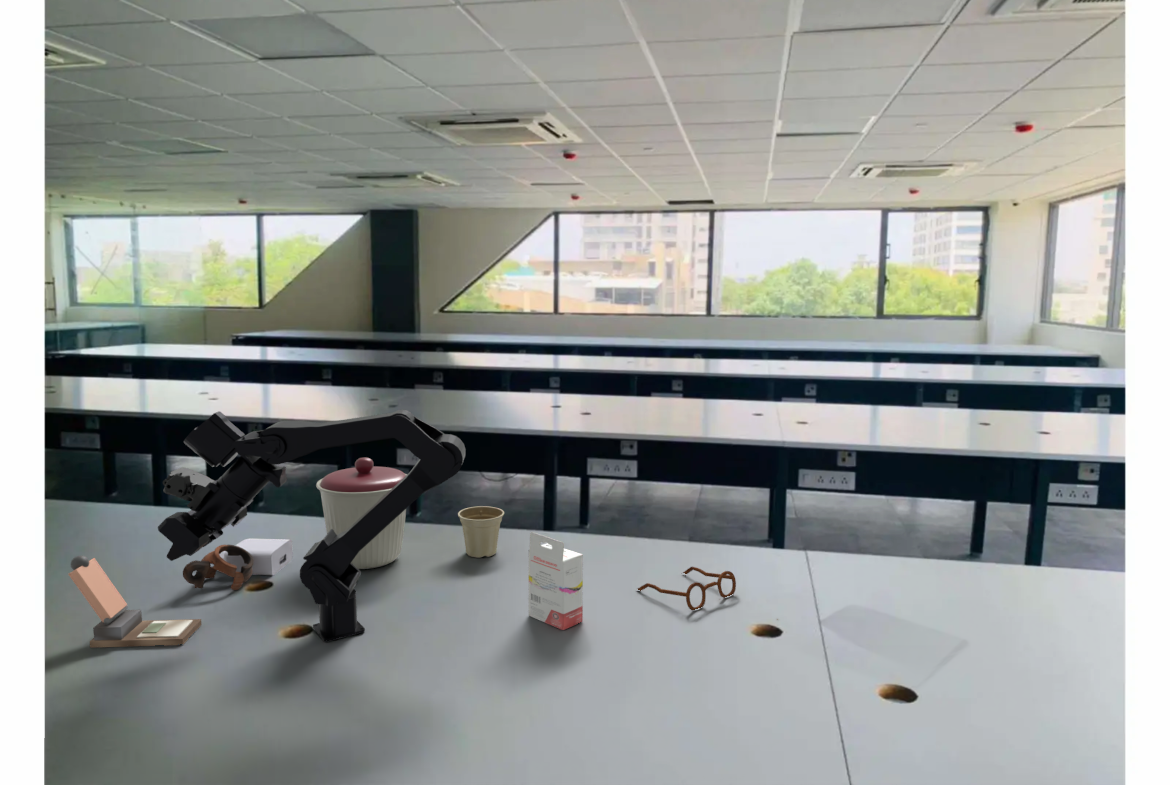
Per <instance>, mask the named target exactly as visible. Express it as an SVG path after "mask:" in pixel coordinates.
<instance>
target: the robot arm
mask: <svg viewBox="0 0 1170 785" xmlns="http://www.w3.org/2000/svg"><path fill="white" fill-rule="evenodd" d="M392 439H395V440H397V441H398V442H400V443H401V444H402V445H403V446H404V447H405V448H406V449H407V450H409V451H410V453H412V455H414V456H415V457H416V458H418V461H417V462H416V463H415V465H413V467H412V469H411V470H410V471H409V472H408V473H406V474H407V475H406V476H405V477H404V478H403V479H402V480H401V481H400V482H399V483H398V484H397V485H395V486H394V487H393V488H392V489H391V490H390V491H389V492H388V493H387V494H386V495H385V496H383V497H382V498H381V499H380V500H379V501H378V502H377V503H376V504H375V505H374V506H373V507H371V508H370V509H369V510H368V511H367V512H366V513H365V514H364V515H363V516H362V517H361V518H359V519H358V520H357V521H356V522H355V523H354V524H353V525H352V526H351V527H350V528H349V529H347V530H346V531H344V532H342V533H340V534H338V535H336V533H335V532H334V530H333V529H331V530H330V531H329V532H328V534H327V533H326V534H325V536H324V537H323V539H321V540H320V541H318V542H315V543H314V544H313V545H312V546H311V548H309V550H308V551H307V552H306V554H305V555H304V556H303V557H302V558H303V560H304V562H303V564H302V565H301V567H300V569H299V578H300V581H301V583H302V585H303V586H304V587H305V588H307V589H308V590H309V592H310V595H311V596H312V599H313V601H314V603H315V605H318V619H319V622H318V623H314V624H312V630H314V632H315V633H316V634H317V635H318V636H319V638H321V640H322V641H323V642H324V643H326V642H327V643H328V642H330V641H335V640H339V639H342V638H347V637H350V636H353V635H354V636H355V635H357V634H361V633H364V632H365V631H366V629H365V627H364V626H363V625H362V624H361V623H360V622H359V620H358V613H357V612H358V610H357V609H358V606H357V590H356V589H355V587H356V585H358V583H359V580H360V577H361V574H362V571H361V569H358V568H356V567H355V566H354V565H353V564H352V563H351V562H352V561H353V559H354V558H355V556H356V555H357V554H358V552H359V551H360V550H361V549H363V548H364V547H365V546H366V545H367V544H368V543H369V542H370V541H371V540H372V539H373V538H375V537H376V536H377V535H378V534H379V533H380V532H381V531H382V530H383V529H384V528H386V527H387V526H388V525H389V524H390V523H391V522H392V521H393V520H394V519H395V518H396V517H398V516H399V515H400V514H401V513H402V512H403V511H404V510H405V509H406V510H407V508H409V507H410V506H411V505H412V504H413V503H414V502H415V501H417V500H418V498H419V497H421V496H422V495H423V494H424V493H426V492H428V491H430V490H432V489H434V488H437V487H438V486H440V485H441V484H443V483H445V482H447V481H448V480H450V479H451V478H453V477H454V476H455V475H457V474H458V473H459V471H460V470H461V468H462V467H463V463H464V460H465V458H466V450H467V449H466V447H465V443H464V442H463V441H462V440H461V438H460V437H458V436H457V435H454V434H451V433H450V434H448V433H444V432H443V431H441V430H439V429H438V428H437V427H435V426H433V425H431V424H429V423H427V422H426V421H423V420H422V419H420V418H418V417H417V416H415V415H414V414H413V413H412V412H410V410H406V409H397V410H395V411H393V412H387V413H380V414H379V413H378V414H373V415H367V416H365V415H364V416H359V417H353V418H347V419H340V420H333V421H326V422H314V421H308V420H280V421H278V422H275V423H273V424H272V425H270V426H268V427H267V428H265V429H262V430H256V431H255V430H254V431H251V432H249V433H247V434H245V433H244V432H243V431H241V430H240V429H239V428H238V427H237V426H235V425H234V424H233V423H232V422H231V421H230V420H229V418H228V417H227V416H226V415H225V414H224V413H223V412H222V411H217V412H214V413H213V414H211V415H210V417H209V418H207V419H206V420H205V421H203V422H202V423H201V424H200V425H199V426H197V427H195V428H194V429H192V431H191V432H189V434H188V435H187V436H186V437H185V438H184V440H183V443H184V444H185V446H187V447H188V448H189V449H191V450H192V451H193V452H194V453H195V454H197V456H199V457H200V458H201V459H202V460H204V461H205V462H206V463H207V464H208V465H210V466H211V467H212V468H213V467H215V468H217V467H218V466H219V465H220V466H221V467H222V468H223V467H224V468H225V467H226V466H227V465H228V464H230V463H231V462H232V461H233V460H234V459H235V458H236V457H237V456H238V455H239V458H237V460H236V461H235V462H234V463H232V465H231V466H230V467H229V468H228V469H227V470H226V471H225V472H224V473H223V474H222V475H221V476H220V477H219V478H217V479H216V480H214V479H212V478H210V477H209V476H207V475H204V474H202V473H200V472H198V471H195V470H193V469H190V468H188V467H187V468H186V467H179V468H176V469H174V470H172V471H170V473H169V474H168V476H167V477H166V478H165V479H164V480H163V481H162V485H163V486H164V488H163V493H165V494H166V495H169V496H174V497H177V498H180V499H182V500H185V501H187V502H188V503H187V505H186V506H187V507H188V509H190V510H189V511H177V512H175V513H172V515H169V516H167V517H166V518H165V519H164V520H162V522H161V523H160V524H159V525H158V526H157V530H158V532H159V534H161V535H162V536H164V537H165V538H166V539H167V540H168V541H170V543H172V545H171V546H170V548H169V550H168V552H167V555H166V559H168V560H169V561H170V562H173V561H175V560H177V559H179V558H182V557H184V556H190V557H191V556H193V555H194V554H196V553H198V552H199V551H200V550H201V549H202V548H205V547H206V546H208V545H209V544H211V543H212V542H213V541H214V540H216V539H218V538H220V537H221V536H223V535H224V531H223V529H225V528H227V527H228V526H229V525H230V526H232V527H233V528H234V527H236V526H237V525H238V524H240V523H241V522H242V521H243V520H244V519H245V518H246V517H247V516H248V508H247V507H248V506H249V505H250V504H251V503H253V502H254V498H255V497H256V495H258V494H259V493H260V492H261V490H263V489H264V488H265V487H266V485H268V483H269V482H270V483H271V484H272V485H273V486H275V487H276V488H280V487H282V486H283V485H284V484H285V483H287V481H288V479H287V474H286V472H287V466H285V465H284V466H279V465H281V464H285V463H287V462H291V461H294V460H296V459H299V458H300V459H301V458H303V457H304V456H308V455H309V454H312V453H315V452H318V451H321V450H325V449H332V448H339V447H345V446H352V445H353V446H354V445H358V444H364V443H365V444H366V443H371V442H379V441H385V440H392Z"/></svg>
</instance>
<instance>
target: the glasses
mask: <svg viewBox="0 0 1170 785" xmlns="http://www.w3.org/2000/svg"><path fill="white" fill-rule="evenodd" d="M693 571H695V572H698V573H700V574H702V575H703V576H705V577H709V578H717V581H712V582H710V583H709V582H708V583H707V584H705V585H703V583H701V582H697V581H696V582H693V583H691V584H690V585H689V586H688V587H687V590H686V592H684V591H683V592H682V591H679V590H678V591H677V590H673V589H672V590H671V589H665V588H660V587H659V586H657V585H655V584H652V583H649V582H648V583H645V584H643V585H641V586H639V587H637V589H638V590H640V592H641V590H642V591H643V590H645V589H648V588H650V589H654V590H655V591H657V592H659V593H660V594H666V595H672V596H678V597H679V596H680V597H685V600H686V605H687V607H688V609H689V610H691V611H693V610H695V609H698V608H701V607H702V608H703V607H704V605H705V604H706V596H707V595H706V594H707V593H706V591H707V590H708V589H710V588H712V587H714V586H715V587H716V586H717V590H718V593H719V595H720V597H721V598H723V599H726V598H725V597H727V596H730V595H732V594H733V595H734V594H735V592H736V590H737V581H736V577H735V575H734V573H733V572H732V571H731V570H725V571H722V572H721V573H716V572H715V573H713V572H706V571H704V570H703V569H701V568H699V567H695V566H690V567H689V568H687V569H686V570H685V571H683V572H682V573H685V574H687V575H688V574H690V573H691V572H693ZM723 579H725V580H731V581H732V583H731V584H732V587H731V590H730V592H729V593H728V594H725V593H724V592H723V590H722V589H723V588H722V580H723ZM695 587H698V588H700V591H701V601H700V604H699V605H697V606H694V605H693V604H692V603H691V598H690V597H691V596H690V595H691V592H692V590H693V588H695ZM733 595H732V596H733ZM702 608H701V609H702Z"/></svg>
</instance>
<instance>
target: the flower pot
mask: <svg viewBox="0 0 1170 785" xmlns="http://www.w3.org/2000/svg"><path fill="white" fill-rule="evenodd" d="M504 515H505V511H504V510H503V509H501V508H498V507H493V506H488V505H487V506H486V505H485V506H483V505H479V506H471V507H467V508H463V509H461V510H459V511H458V512H457V516H458V518H459V520H460V523H461V527H462V532H463V533H462V534H463V538H464V544H465V545H464V546H465V552H466V554H467V556H469V557H472V558H477V559H479V558H483V557H487V558H488V557H491V556H494V555H495V554H496V553H497V550H498V543H499V542H498V541H499V535H500V534H499V533H500V527H501V522H502V521H503V517H504Z"/></svg>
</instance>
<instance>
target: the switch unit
mask: <svg viewBox="0 0 1170 785" xmlns="http://www.w3.org/2000/svg"><path fill="white" fill-rule="evenodd" d="M202 623H203V622H202V618H193V619H191V618H190V619H186V618H185V619H156V620H155V619H154V620H152V619H151V620H149V619H148V620H143V616H142V609H126V610H125V611H124V612H123V613H122V614H120V615H119V616H118V617H117V618H116V619H114V620H113V621H112V622H111V623H110V624H105V623H104V622H102V621H101V620H100V621H99V623H97V624H96V625H95V626H93V629H92V631H93V638H92V639H91V640H89V648H123V647H127V648H128V647H151V646H152V647H156V646H155V645H164V646H181V645H180V644H183V645H185V643H186V642H187V641H188V640H189V639H190V638H191V637H192V636H193V635H194V634H195V633H196V632H197V630H199V628H200V627H201V626H202ZM195 631H196V632H195ZM194 632H195V633H194ZM193 633H194V634H193ZM192 634H193V635H192ZM191 635H192V636H191ZM190 636H191V637H190ZM189 637H190V638H189ZM188 638H189V639H188ZM178 644H179V645H178Z"/></svg>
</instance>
